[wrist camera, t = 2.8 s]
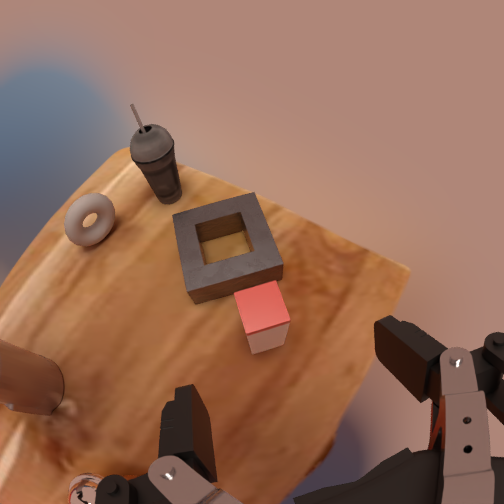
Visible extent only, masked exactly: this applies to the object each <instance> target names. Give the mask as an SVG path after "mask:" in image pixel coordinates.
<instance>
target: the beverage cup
mask: <svg viewBox="0 0 504 504" xmlns="http://www.w3.org/2000/svg"><path fill="white" fill-rule="evenodd" d="M130 106H131V108H132V110H133V113H134V115H135V117H136V119H137V122H138V124H139V126H140V129H138V130H137V131H136V133H135V134H134V135H133V137H132V139H131V144H130V153H131V158H132V160H133V161H134V162H135V164H136V165H137V166H138V167H139V168H140V169H141V171H142V173H143V174H144V176H145V178H146V179H147V181H148V183H149V184H150V186H151V188H152V189H153V191H154V193H155V194H156V196H157V197H158V199H159V200H160V202H162V203H163V204H172V203H174V202H176V201H177V200H179V199H180V197H181V195H182V190H181V184H180V179H179V174H178V170H177V165H176V160H175V153H174V140H173V139H172V137H171V135H170V134H169V132H168V131H167V130H166V129H165V128H163V127H161V126H159V125H154V124H151V125H145V126H143V125H142V123H141V120H140V118H139V116H138V114H137V111H136V109H135V107H134V105H133V104H131V105H130Z"/></svg>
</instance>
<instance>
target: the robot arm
mask: <svg viewBox="0 0 504 504" xmlns="http://www.w3.org/2000/svg"><path fill="white" fill-rule="evenodd" d="M374 338H375V352H376V355H377V358H378V359H379V361H380V362H381V363H382V364H383V365H384V366H385V367H386V368H387V369H388V370H389V371H390V372H391V373H392V374H393V375H394V376H395V377H396V378H397V379H398V380H399V381H400V382H401V383H402V384H403V385H404V386H405V387H406V388H407V390H408V391H409V392H410V393H411V394H412V395H413V396H414V397H415V398H416V399H417V400H418V401H419V402H420V403H422V402H423V401H425V400H427V399H428V398H430V399H431V400H432V404H431V425H430V439H429V445H428V449H427V450H422V451H417V452H413V453H412V452H411V451H410V450H409V449H408V448H405V449H404V450H402V451H400V452H399V453H397V454H395V455H393V456H391V457H390V458H388V459H386V460H384V461H382V462H381V463H380V464H379V465H377V466H376V467H375V468H374V469H372V470H371V471H370V472H368V473H367V474H366V475H365V476H363V477H362V478H361V479H359V480H357V481H355V482H351V483H346V484H342V485H336V486H331V487H326V488H322V489H319V490H316V491H313V492H311V493H308V494H305V495H302V496H298V497H295V498H293V499H294V502H295V504H504V457H491V456H490V437H489V425H488V416H487V409H488V410H489V411H490V412H491V413H492V414H493V415H494V416H495V417H496V418H497V419H498V420H499V421H500V422H501V423H502V424H503V425H504V380H503V379H502V377H503V374H504V333H500V332H496V333H492V334H489V335H488V336H487V337H486V338H485V342H484V346H483V347H481V348H478V349H476V350H473V351H470V352H469V351H467V350H466V349H464V348H460V347H454V348H450V349H448V348H446V347H445V346H444V345H442V344H441V343H439V342H438V341H437V340H435V339H434V338H433V337H431V336H430V335H427V333H426V332H424V331H423V330H421V329H420V328H419V327H417V326H416V325H414V324H413V323H409V322H406V321H401V322H400V321H398V320H397V319H395V318H394V317H393V316H391V315H389V316H387V317H384V318H382V319H380V320H378V321H376V322H375V323H374ZM63 391H64V383H63V377H62V374H61V371H60V370H59V368H58V366H57V365H56V364H55V363H54V362H53V361H52V360H50V359H47V358H45V357H43V356H40V355H37V354H34V353H32V352H29V351H27V350H24V349H22V348H19V347H17V346H15V345H12V344H10V343H8V342H6V341H3V340H1V339H0V403H2V404H4V405H5V406H7V407H8V408H9V409H10V410H12V411H17V412H24V413H31V414H39V415H49V416H50V415H51V413H52V410H53V409H55V408H56V407H57V406H58V405H59V404H60V402H61V400H62V396H63ZM160 428H161V430H160V440H159V455H158V459H157V460H155V461H154V462H153V463H152V464H151V466H150V467H149V470H148V473H146V474H144V475H142V476H139V477H136V478H133V479H130V480H128V481H127V480H126V479H125V478H124V477H122V476H120V475H110V476H107V477H105V478H103V479H102V480H101V481H100V482H99V484H98V486H97V489H96V497H95V504H243V503H242V502H240V501H239V500H237V499H236V498H234V497H233V496H231V495H230V494H228V493H227V492H225V491H224V490H222V489H218V488H216V487H215V486H213V485H212V484H211V483H213V482H218V480H217V473H216V466H215V458H214V450H213V441H212V432H211V423H210V417H209V414H208V411H207V409H206V407H205V405H204V403H203V401H202V399H201V397H200V395H199V393H198V392H197V390H196V388H195V386H194V385H193V384H191V385H186V386H182V387H178V388H176V389H175V400H174V401H169V402H167V403H166V405H165V407H164V408H163V410H162V415H161V427H160Z"/></svg>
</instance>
